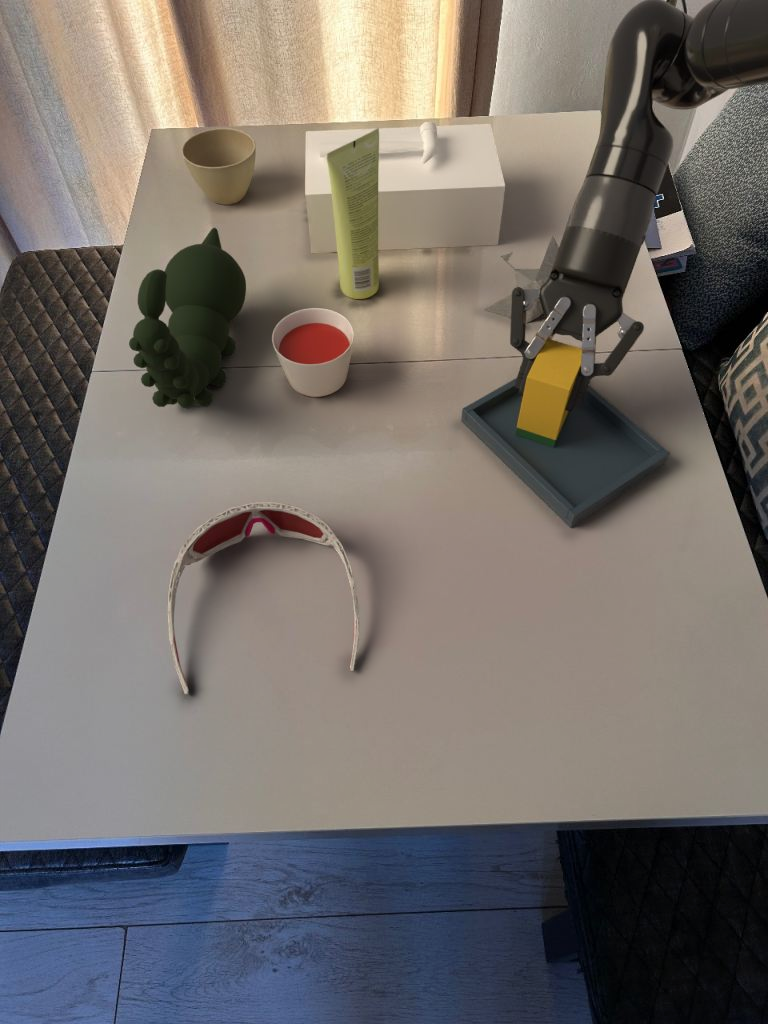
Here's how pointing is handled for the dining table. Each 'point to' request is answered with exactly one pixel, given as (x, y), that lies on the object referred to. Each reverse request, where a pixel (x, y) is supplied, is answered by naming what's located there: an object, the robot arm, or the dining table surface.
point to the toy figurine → (188, 323)
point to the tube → (356, 213)
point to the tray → (568, 451)
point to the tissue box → (416, 186)
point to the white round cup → (314, 350)
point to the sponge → (548, 392)
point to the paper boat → (528, 283)
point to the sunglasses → (239, 525)
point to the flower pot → (221, 163)
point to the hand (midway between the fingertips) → (545, 402)
